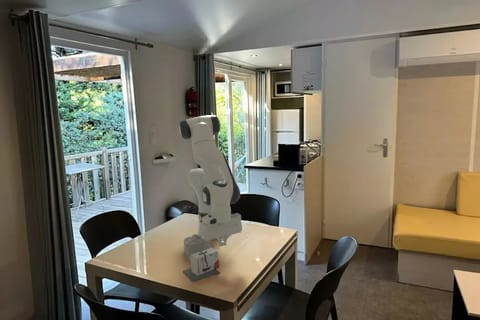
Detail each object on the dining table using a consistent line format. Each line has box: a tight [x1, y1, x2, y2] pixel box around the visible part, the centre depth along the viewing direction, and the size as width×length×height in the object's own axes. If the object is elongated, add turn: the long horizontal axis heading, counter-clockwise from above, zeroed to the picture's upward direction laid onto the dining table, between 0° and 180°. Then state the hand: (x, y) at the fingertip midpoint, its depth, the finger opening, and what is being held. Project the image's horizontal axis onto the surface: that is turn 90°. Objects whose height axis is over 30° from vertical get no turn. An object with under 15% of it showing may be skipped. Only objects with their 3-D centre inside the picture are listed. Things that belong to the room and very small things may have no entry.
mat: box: [182, 267, 221, 282], centre depth 153 cm, size 13×11×1 cm
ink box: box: [189, 247, 220, 276], centre depth 153 cm, size 8×5×12 cm
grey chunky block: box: [183, 233, 211, 259], centre depth 174 cm, size 10×13×9 cm
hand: (222, 245), depth 157 cm, fingers closed
